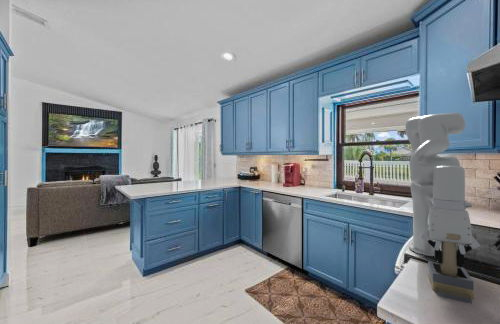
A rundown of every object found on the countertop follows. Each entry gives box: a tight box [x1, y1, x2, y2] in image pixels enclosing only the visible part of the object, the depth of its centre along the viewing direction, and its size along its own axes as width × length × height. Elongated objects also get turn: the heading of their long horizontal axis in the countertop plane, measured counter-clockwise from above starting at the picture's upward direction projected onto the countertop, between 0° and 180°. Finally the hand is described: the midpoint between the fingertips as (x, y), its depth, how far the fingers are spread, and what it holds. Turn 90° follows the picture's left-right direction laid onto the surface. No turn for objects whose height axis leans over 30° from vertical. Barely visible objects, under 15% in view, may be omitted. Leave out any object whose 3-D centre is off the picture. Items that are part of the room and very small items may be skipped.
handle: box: [440, 234, 461, 277], centre depth 70 cm, size 5×6×15 cm
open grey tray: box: [427, 260, 475, 304], centre depth 70 cm, size 16×9×5 cm, turn 148°
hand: (448, 263), depth 70 cm, fingers closed on handle, 4 cm apart
